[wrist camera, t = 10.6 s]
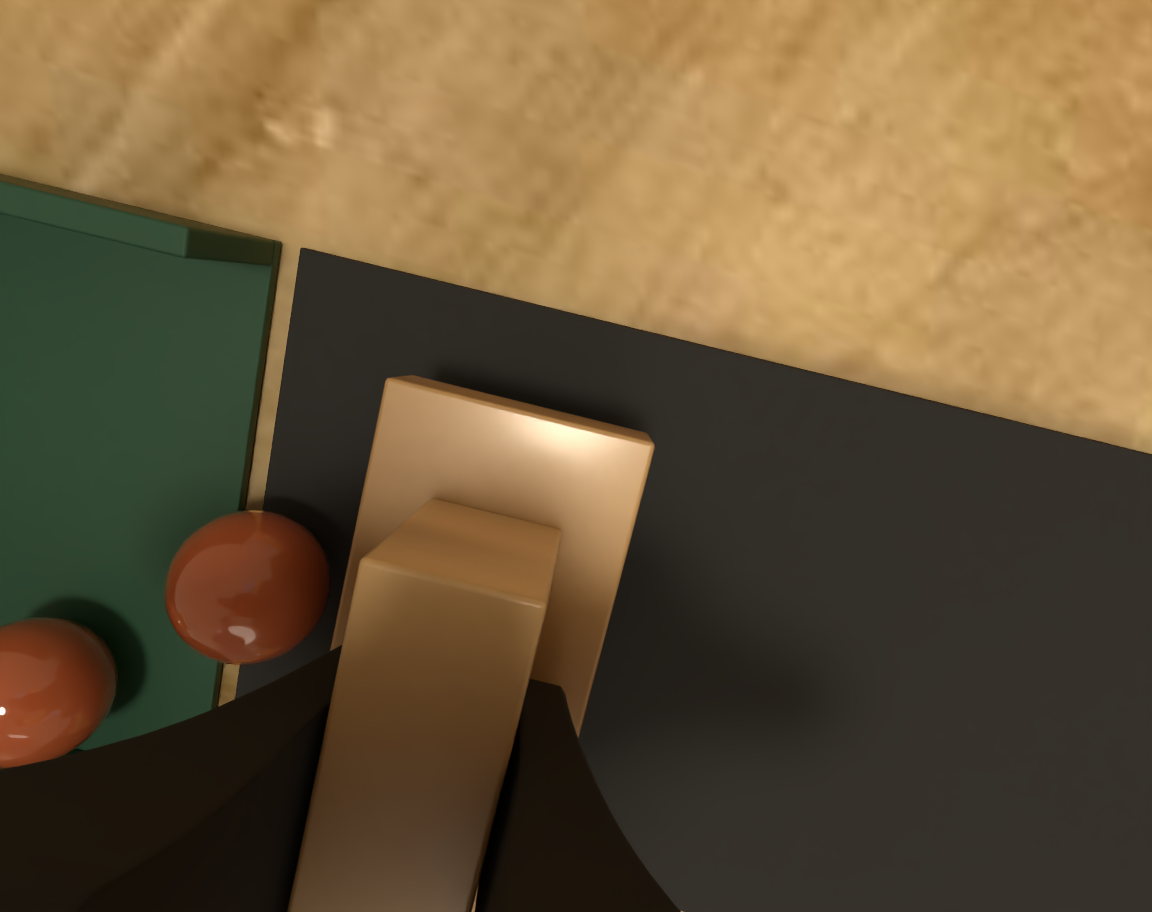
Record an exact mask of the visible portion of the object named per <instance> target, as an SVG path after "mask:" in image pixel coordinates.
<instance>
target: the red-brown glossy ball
mask: <svg viewBox="0 0 1152 912" xmlns="http://www.w3.org/2000/svg"><path fill="white" fill-rule="evenodd" d="M117 687H118V670H117V665H116V661H115V658H114V656H113V654H112V652H111V650H110V648H109V647H108V645H107V644H106V643H105V642H104V640H103V639H102V638H101V637H100V636H99V635H98V634H96V633H95V632H94V631H92V630H91V629H89V628H87V627H86V626H84V625H82V624H79V623H77V622H74V621H71V620H67V619H63V618H55V617H33V618H25V619H20V620H16V621H12V622H9V623H6V624H4V625H1V626H0V769H6V768H11V767H16V766H22V765H26V764H31V763H36V762H40V761H45V760H50V759H54V758H59V757H62V756H64V755H66V754H68V753H70V752H71V751H73V750H74V749H76V748H77V747H79V746H80V745H82V744H83V743H84V742H85V741H86V740H87V739H89V738H90V737H91V736H92V735H93V734H94V733H95V732H96V731H97V729H98V728H99V727H100V726H101V724H102V723H103V722H104V720H105V719H106V717H107V716H108V714H109V712H110V710H111V708H112V706H113V703H114V700H115V697H116V693H117Z"/></svg>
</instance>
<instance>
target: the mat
mask: <svg viewBox="0 0 1152 912" xmlns="http://www.w3.org/2000/svg"><path fill="white" fill-rule="evenodd" d="M409 375H414V376H418V377H422V378H427V379H431V380H435V381H439V382H443V383H447V384H451V385H455V386H459V387H463V388H467V389H471V390H475V391H479V392H483V393H487V394H491V395H495V396H499V397H504V398H508V399H512V400H516V401H520V402H524V403H528V404H532V405H536V406H540V407H544V408H548V409H552V410H556V411H560V412H564V413H568V414H572V415H576V416H581V417H585V418H589V419H593V420H597V421H601V422H605V423H609V424H613V425H617V426H621V427H625V428H629V429H633V430H637V431H641V432H645V433H647V434H648V435H649V436H650V438H651V440H652V441H653V443H654V446H655V449H654V453H653V456H652V460H651V464H650V468H649V472H648V475H647V479H646V483H645V487H644V491H643V494H642V498H641V502H640V506H639V510H638V513H637V517H636V521H635V525H634V529H633V532H632V536H631V540H630V544H629V548H628V551H627V555H626V559H625V563H624V567H623V570H622V574H621V578H620V582H619V586H618V589H617V593H616V597H615V601H614V605H613V608H612V612H611V616H610V620H609V624H608V628H607V631H606V635H605V639H604V643H603V647H602V650H601V654H600V658H599V662H598V666H597V669H596V673H595V677H594V681H593V685H592V688H591V692H590V696H589V700H588V704H587V707H586V711H585V715H584V719H583V723H582V726H581V730H580V734H579V738H578V739H579V742H580V744H581V747H582V750H583V752H584V754H585V757H586V759H587V762H588V764H589V767H590V769H591V771H592V774H593V776H594V778H595V780H596V782H597V785H598V787H599V789H600V791H601V793H602V795H603V797H604V799H605V801H606V803H607V805H608V807H609V809H610V811H611V812H612V814H613V816H614V818H615V820H616V822H617V823H618V825H619V827H620V829H621V830H622V832H623V834H624V835H625V837H626V839H627V840H628V842H629V843H630V845H631V847H632V848H633V850H634V851H635V853H636V854H637V856H638V857H639V859H640V860H641V861H642V863H643V864H644V866H645V867H646V868H647V870H648V871H649V873H650V874H651V875H652V876H653V878H654V879H655V880H656V881H657V883H658V884H659V885H660V887H661V888H662V889H663V890H664V892H665V893H666V894H667V896H668V897H669V898H670V899H671V901H672V902H673V903H674V904H675V906H676V907H677V908H678V909H679V910H680V911H684V912H1152V454H1148V453H1144V452H1140V451H1136V450H1132V449H1127V448H1123V447H1119V446H1115V445H1111V444H1107V443H1103V442H1099V441H1095V440H1091V439H1086V438H1082V437H1078V436H1074V435H1070V434H1066V433H1062V432H1058V431H1054V430H1050V429H1045V428H1041V427H1037V426H1033V425H1029V424H1025V423H1021V422H1017V421H1013V420H1009V419H1004V418H1000V417H996V416H992V415H988V414H984V413H980V412H976V411H972V410H968V409H963V408H959V407H955V406H951V405H947V404H943V403H939V402H935V401H931V400H926V399H922V398H918V397H914V396H910V395H906V394H902V393H898V392H894V391H890V390H885V389H881V388H877V387H873V386H869V385H865V384H861V383H857V382H853V381H849V380H844V379H840V378H836V377H832V376H828V375H824V374H820V373H816V372H812V371H808V370H803V369H799V368H795V367H791V366H787V365H783V364H779V363H775V362H771V361H766V360H762V359H758V358H754V357H750V356H746V355H742V354H738V353H734V352H730V351H725V350H721V349H717V348H713V347H709V346H705V345H701V344H697V343H693V342H689V341H684V340H680V339H676V338H672V337H668V336H664V335H660V334H656V333H652V332H648V331H643V330H639V329H635V328H631V327H627V326H623V325H619V324H615V323H611V322H607V321H602V320H598V319H594V318H590V317H586V316H582V315H578V314H574V313H570V312H565V311H561V310H557V309H553V308H549V307H545V306H541V305H537V304H533V303H529V302H524V301H520V300H516V299H512V298H508V297H504V296H500V295H496V294H492V293H488V292H483V291H479V290H475V289H471V288H467V287H463V286H459V285H455V284H451V283H447V282H442V281H438V280H434V279H430V278H426V277H422V276H418V275H414V274H410V273H405V272H401V271H397V270H393V269H389V268H385V267H381V266H377V265H373V264H369V263H364V262H360V261H356V260H352V259H348V258H344V257H340V256H336V255H332V254H328V253H323V252H319V251H315V250H311V249H307V248H301V250H300V256H299V263H298V270H297V277H296V284H295V291H294V298H293V305H292V312H291V318H290V325H289V332H288V339H287V346H286V353H285V360H284V367H283V373H282V380H281V387H280V394H279V401H278V408H277V415H276V422H275V428H274V435H273V442H272V449H271V456H270V463H269V470H268V477H267V483H266V490H265V497H264V504H263V511H270V512H275V513H278V514H281V515H284V516H287V517H289V518H291V519H293V520H295V521H297V522H298V523H300V524H301V525H303V526H304V527H305V528H306V529H307V530H309V531H310V532H311V533H312V534H313V536H314V537H315V538H316V539H317V540H318V542H319V543H320V545H321V546H322V548H323V550H324V552H325V554H326V556H327V559H328V562H329V566H330V571H331V593H330V598H329V602H328V605H327V608H326V610H325V613H324V615H323V617H322V619H321V621H320V622H319V624H318V625H317V627H316V628H315V629H314V631H313V632H312V633H311V634H310V635H309V636H308V637H307V638H306V639H305V640H304V641H303V642H302V643H301V644H300V645H298V646H297V647H296V648H294V649H293V650H291V651H290V652H288V653H286V654H284V655H282V656H280V657H278V658H275V659H273V660H270V661H266V662H262V663H258V664H250V665H240V669H239V676H238V683H237V690H236V697H235V699H237V698H239V697H241V696H243V695H245V694H248V693H250V692H252V691H254V690H256V689H258V688H261V687H263V686H265V685H267V684H269V683H271V682H273V681H275V680H277V679H279V678H281V677H283V676H285V675H287V674H289V673H291V672H293V671H294V670H296V669H298V668H300V667H302V666H304V665H306V664H308V663H309V662H311V661H313V660H315V659H317V658H319V657H320V656H322V655H324V654H326V653H328V652H329V651H330V649H331V644H332V639H333V634H334V629H335V624H336V619H337V615H338V610H339V605H340V600H341V595H342V590H343V585H344V580H345V576H346V571H347V566H348V561H349V556H350V551H351V546H352V541H353V536H354V532H355V527H356V522H357V517H358V512H359V507H360V502H361V497H362V493H363V488H364V483H365V478H366V473H367V468H368V463H369V458H370V454H371V449H372V444H373V439H374V434H375V429H376V424H377V419H378V414H379V410H380V405H381V400H382V395H383V390H384V385H385V381H386V379H387V378H391V377H400V376H409Z"/></svg>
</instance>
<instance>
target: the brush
mask: <svg viewBox="0 0 1152 912" xmlns="http://www.w3.org/2000/svg"><path fill="white" fill-rule="evenodd" d="M654 449H655V446H654V443H653V441H652V440H651V438H650V436H649V435H648V434H647V433H645V432H641V431H637V430H633V429H629V428H625V427H621V426H617V425H613V424H609V423H605V422H601V421H597V420H593V419H589V418H585V417H581V416H576V415H572V414H568V413H564V412H560V411H556V410H552V409H548V408H544V407H540V406H536V405H532V404H528V403H524V402H520V401H516V400H512V399H508V398H504V397H499V396H495V395H491V394H487V393H483V392H479V391H475V390H471V389H467V388H463V387H459V386H455V385H451V384H447V383H443V382H439V381H435V380H431V379H427V378H422V377H418V376H414V375H409V376H400V377H391V378H387V379H386V381H385V385H384V390H383V395H382V400H381V405H380V410H379V414H378V419H377V424H376V429H375V434H374V439H373V444H372V449H371V454H370V458H369V463H368V468H367V473H366V478H365V483H364V488H363V493H362V497H361V502H360V507H359V512H358V517H357V522H356V527H355V532H354V536H353V541H352V546H351V551H350V556H349V561H348V566H347V571H346V576H345V580H344V585H343V590H342V595H341V600H340V605H339V610H338V615H337V619H336V624H335V629H334V634H333V639H332V644H331V649H330V651H331V650H333V649H335V648H337V647H339V646H340V645H342V649H341V654H340V659H339V664H338V668H337V673H336V678H335V683H334V688H333V693H332V697H331V702H330V707H329V712H328V717H327V722H326V726H325V731H324V736H323V741H322V746H321V751H320V755H319V760H318V765H317V770H316V775H315V779H314V784H313V789H312V794H311V799H310V804H309V808H308V813H307V818H306V823H305V828H304V833H303V837H302V842H301V847H300V852H299V857H298V861H297V866H296V871H295V876H294V881H293V886H292V890H291V895H290V900H289V905H288V910H287V912H475V906H476V898H477V890H478V884H479V880H480V876H481V872H482V868H483V864H484V860H485V856H486V852H487V848H488V844H489V840H490V836H491V832H492V828H493V824H494V820H495V816H496V812H497V808H498V804H499V800H500V795H501V791H502V787H503V783H504V779H505V775H506V771H507V767H508V763H509V759H510V755H511V751H512V747H513V743H514V739H515V735H516V731H517V727H518V723H519V719H520V715H521V711H522V707H523V703H524V699H525V695H526V691H527V687H528V683H529V679H534V680H538V681H542V682H546V683H550V684H554V685H558V686H561V687H562V689H563V691H564V692H565V694H566V700H567V704H568V708H569V711H570V715H571V718H572V722H573V725H574V728H575V730H576V733H577V736H578V738H579V734H580V730H581V726H582V723H583V719H584V715H585V711H586V707H587V704H588V700H589V696H590V692H591V688H592V685H593V681H594V677H595V673H596V669H597V666H598V662H599V658H600V654H601V650H602V647H603V643H604V639H605V635H606V631H607V628H608V624H609V620H610V616H611V612H612V608H613V605H614V601H615V597H616V593H617V589H618V586H619V582H620V578H621V574H622V570H623V567H624V563H625V559H626V555H627V551H628V548H629V544H630V540H631V536H632V532H633V529H634V525H635V521H636V517H637V513H638V510H639V506H640V502H641V498H642V494H643V491H644V487H645V483H646V479H647V475H648V472H649V468H650V464H651V460H652V456H653V453H654Z"/></svg>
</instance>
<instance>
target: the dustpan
mask: <svg viewBox="0 0 1152 912" xmlns="http://www.w3.org/2000/svg"><path fill="white" fill-rule="evenodd" d="M280 249H281V242H278V241H274V240H270V239H266V238H262V237H258V236H254V235H250V234H245V233H241V232H237V231H233V230H229V229H225V228H221V227H217V226H213V225H209V224H204V223H200V222H196V221H192V220H188V219H184V218H180V217H176V216H172V215H168V214H163V213H159V212H155V211H151V210H147V209H143V208H139V207H135V206H131V205H127V204H122V203H118V202H114V201H110V200H106V199H102V198H98V197H94V196H90V195H86V194H81V193H77V192H73V191H69V190H65V189H61V188H57V187H53V186H49V185H44V184H40V183H36V182H32V181H28V180H24V179H20V178H16V177H12V176H8V175H3V174H0V626H1V625H4V624H6V623H9V622H12V621H16V620H20V619H25V618H33V617H55V618H63V619H67V620H71V621H74V622H77V623H79V624H82V625H84V626H86V627H87V628H89V629H91V630H92V631H94V632H95V633H96V634H98V635H99V636H100V637H101V638H102V639H103V640H104V642H105V643H106V644H107V645H108V647H109V648H110V650H111V652H112V654H113V656H114V658H115V661H116V665H117V670H118V687H117V693H116V697H115V700H114V703H113V706H112V708H111V710H110V712H109V714H108V716H107V717H106V719H105V720H104V722H103V723H102V724H101V726H100V727H99V728H98V729H97V731H96V732H95V733H94V734H93V735H92V736H91V737H90V738H89V739H87V740H86V741H85V742H84V743H83V744H82V745H80V746H79V747H77V748H76V749H74V750H73V751H71V752H70V753H68V754H66V755H64V756H67V755H71V754H75V753H79V752H82V751H86V750H89V749H93V748H97V747H100V746H104V745H108V744H111V743H115V742H118V741H122V740H126V739H129V738H133V737H137V736H140V735H143V734H146V733H149V732H152V731H155V730H158V729H161V728H164V727H167V726H170V725H172V724H175V723H178V722H181V721H184V720H187V719H189V718H192V717H194V716H197V715H200V714H202V713H205V712H207V711H210V710H212V709H214V708H217V701H218V694H219V687H220V679H221V672H222V665H223V663H221V662H218V661H214V660H211V659H209V658H207V657H204V656H202V655H200V654H199V653H197V652H195V651H194V650H193V649H191V648H190V647H189V646H188V645H186V644H185V643H184V642H183V640H182V639H181V638H180V637H179V636H178V634H177V633H176V631H175V630H174V628H173V627H172V625H171V623H170V621H169V618H168V616H167V612H166V608H165V602H164V584H165V577H166V573H167V570H168V567H169V565H170V562H171V560H172V558H173V556H174V555H175V553H176V552H177V550H178V549H179V547H180V546H181V544H182V543H183V542H184V541H185V540H186V539H187V538H188V537H189V536H190V535H191V534H192V533H193V532H194V531H196V530H197V529H198V528H199V527H201V526H203V525H204V524H206V523H207V522H209V521H211V520H213V519H215V518H217V517H220V516H222V515H226V514H229V513H233V512H238V511H244V507H245V500H246V493H247V486H248V478H249V471H250V464H251V457H252V450H253V443H254V435H255V428H256V421H257V414H258V407H259V399H260V392H261V385H262V378H263V371H264V364H265V356H266V349H267V342H268V335H269V328H270V321H271V313H272V306H273V299H274V292H275V285H276V277H277V270H278V263H279V256H280ZM62 757H63V756H62Z"/></svg>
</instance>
